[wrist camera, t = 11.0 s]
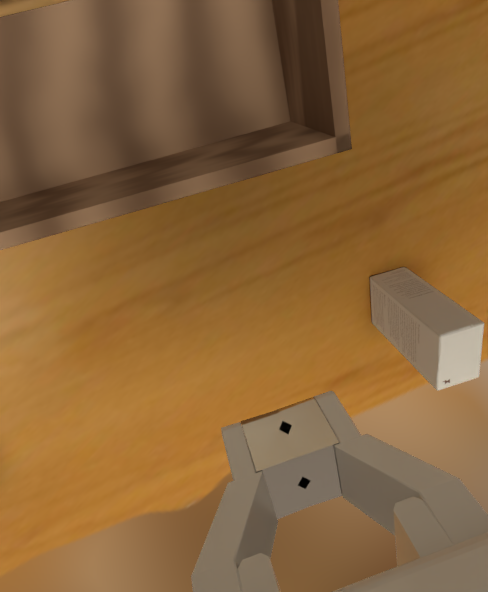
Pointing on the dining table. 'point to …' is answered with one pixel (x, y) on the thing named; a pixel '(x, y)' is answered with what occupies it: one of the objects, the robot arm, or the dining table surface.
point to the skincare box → (427, 327)
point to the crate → (159, 103)
